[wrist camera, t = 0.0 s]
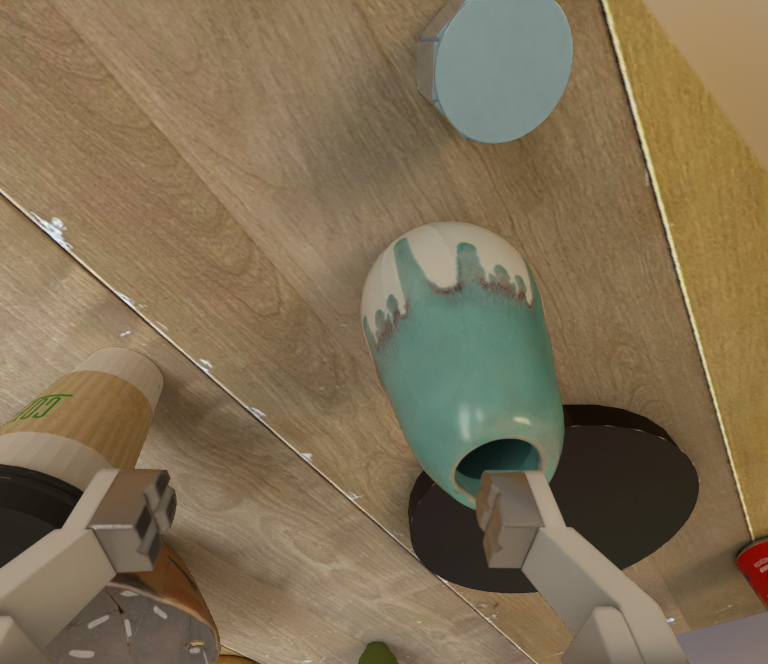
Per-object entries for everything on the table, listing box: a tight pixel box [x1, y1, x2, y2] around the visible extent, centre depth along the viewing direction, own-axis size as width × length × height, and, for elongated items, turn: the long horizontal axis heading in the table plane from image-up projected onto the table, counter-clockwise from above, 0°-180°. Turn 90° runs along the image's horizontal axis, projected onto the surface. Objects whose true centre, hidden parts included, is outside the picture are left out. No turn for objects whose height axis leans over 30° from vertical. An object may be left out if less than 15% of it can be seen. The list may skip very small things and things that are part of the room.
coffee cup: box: [0, 347, 164, 568], centre depth 30 cm, size 10×10×15 cm
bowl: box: [42, 542, 221, 664], centre depth 46 cm, size 25×25×10 cm
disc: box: [408, 405, 699, 593], centre depth 47 cm, size 30×30×3 cm
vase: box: [360, 221, 564, 510], centre depth 25 cm, size 12×12×18 cm
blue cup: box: [416, 0, 573, 144], centre depth 22 cm, size 6×6×8 cm
